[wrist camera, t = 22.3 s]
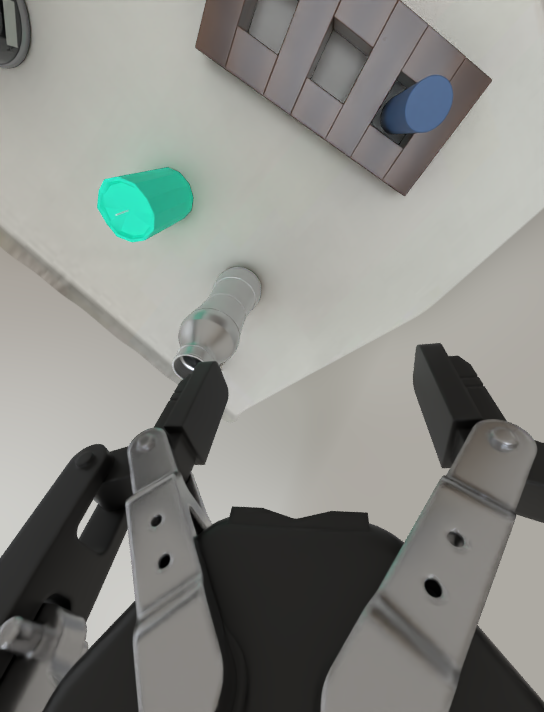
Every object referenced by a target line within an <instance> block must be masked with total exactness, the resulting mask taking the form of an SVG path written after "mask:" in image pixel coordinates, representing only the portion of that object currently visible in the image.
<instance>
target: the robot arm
mask: <svg viewBox="0 0 544 712" xmlns="http://www.w3.org/2000/svg"><path fill="white" fill-rule="evenodd" d="M29 43H30V26H29V19H28V14H27V10H26V6H25V3H24V0H0V67H2V68H12V67H15V66H17V65H19V64H20V63H21V62H22V61H23V60H24V58H25V57H26V54H27V52H28V48H29ZM413 385H414V390H415V394H416V396H417V399H418V402H419V405H420V408H421V411H422V413H423V416H424V419H425V422H426V425H427V427H428V430H429V433H430V436H431V439H432V442H433V444H434V447H435V450H436V453H437V455H438V458H439V461H440V464H441V467H442V468H450V470H449V471H448V473H447V475H446V476H442V478H441V479H440V481H439V482H438V484H437V486H436V487H435V489H434V491H433V493H432V495H431V496H430V498H429V500H428V502H427V503H426V505H425V507H424V509H423V510H422V512H421V514H420V516H419V518H418V519H417V521H416V523H415V525H414V526H413V528H412V530H411V532H410V533H409V535H408V537H407V539H406V541H405V542H403V541H401V540H400V539H398V538H397V537H396V536H394V535H393V534H391V533H390V532H388V531H386V530H384V529H382V528H380V527H378V526H375V525H372V524H369V521H368V513H362V512H340V511H330V512H326V513H321V514H317V515H312V516H308V517H303V518H298V519H294V518H290V517H287V516H284V515H282V514H279V513H276V512H273V511H270V510H267V509H264V508H251V507H232V509H231V513H230V517H228V518H225V519H223V520H220V521H218V522H216V523H214V524H212V523H211V521H210V519H209V517H208V515H207V512H206V510H205V507H204V504H203V501H202V499H201V496H200V493H199V490H198V487H197V484H196V482H195V479H194V476H193V474H192V472H191V471H192V468H193V465H204V464H205V462H206V460H207V457H208V454H209V451H210V448H211V445H212V443H213V440H214V437H215V434H216V431H217V429H218V426H219V423H220V420H221V418H222V415H223V412H224V409H225V406H226V404H227V401H228V387H227V384H226V382H225V379H224V377H223V374H222V372H221V369H220V367H219V364H218V363H217V362H216V361H207V362H199V363H197V365H196V367H195V368H194V370H193V372H192V374H188V375H187V376H186V377H185V378H184V379H183V380H182V381H181V382H180V383H179V384H178V386H177V388H176V390H175V393H173V395H172V397H171V398H170V401H169V402H168V404H167V405H166V407H165V409H164V411H163V412H162V414H161V416H160V418H159V419H158V421H157V423H156V424H155V426H154V428H150V429H147V430H145V431H143V432H141V433H140V434H138V435H137V436H136V437H135V438H134V439H133V440H132V442H131V443H130V445H129V446H128V447H125V448H121V449H118V450H114V451H111V452H109V451H108V450H107V448H105V446H104V445H101V444H95V445H91V446H89V447H86V448H85V449H83V450H81V451H80V452H79V453H78V454H76V455H75V456H74V457H73V458H72V459H71V460H70V462H69V463H68V465H67V466H66V467H65V469H64V470H63V472H62V473H61V474H60V476H59V477H58V478H57V480H56V481H55V483H54V484H53V485H52V487H51V488H50V490H49V491H48V493H47V494H46V495H45V497H44V498H43V499H42V501H41V502H40V504H39V505H38V506H37V508H36V509H35V511H34V512H33V514H32V515H31V516H30V518H29V519H28V520H27V522H26V523H25V525H24V526H23V527H22V529H21V530H20V531H19V533H18V534H17V536H16V537H15V539H14V540H13V541H12V543H11V544H10V546H9V547H8V548H7V550H6V551H5V552H4V554H3V555H2V557H1V558H0V712H544V702H543V700H541V698H540V697H539V696H538V695H537V693H536V692H535V691H534V690H533V689H532V688H531V687H530V685H529V684H528V683H527V682H526V681H525V680H524V678H523V677H522V676H521V675H520V674H519V673H518V672H517V670H516V669H515V668H514V667H513V666H512V665H511V663H510V662H509V661H508V660H507V659H506V658H505V657H504V656H503V654H502V653H501V652H500V651H499V650H498V648H497V647H496V646H495V645H494V644H493V643H492V642H491V640H490V639H489V638H488V637H487V636H486V635H485V633H484V632H483V631H482V630H481V629H480V628H479V626H478V625H477V624H478V621H479V619H480V616H481V613H482V610H483V607H484V605H485V602H486V599H487V597H488V594H489V591H490V588H491V585H492V583H493V580H494V577H495V574H496V572H497V569H498V566H499V563H500V560H501V558H502V555H503V552H504V549H505V547H506V543H507V541H508V538H509V535H510V532H511V530H512V527H513V524H514V521H515V518H516V514H517V515H520V516H523V517H526V518H530V519H533V520H536V521H539V522H543V523H544V443H541V442H538V441H535V440H534V439H533V438H532V437H531V436H530V434H528V433H527V432H526V431H525V430H523V429H522V428H520V427H519V426H517V425H514V424H512V423H509V422H507V421H506V419H505V418H504V416H503V415H502V413H501V411H500V410H499V408H498V407H497V405H496V404H495V402H494V401H493V399H492V397H491V396H490V394H489V393H488V391H487V389H486V388H485V387H484V386H483V383H482V382H481V380H480V378H479V377H477V374H476V372H475V371H474V369H473V368H472V366H471V364H469V363H468V362H466V361H465V360H463V359H462V358H461V357H459V356H448V355H447V353H446V352H445V349H444V348H443V346H442V344H440V343H435V344H422V345H417V347H416V353H415V363H414V372H413ZM93 500H95V501H96V502H97V503H98V505H97V507H96V509H95V511H94V513H93V514H92V516H91V518H90V520H89V522H88V523H87V525H86V527H85V529H84V531H83V532H82V534H81V536H80V538H79V539H78V537H77V528H78V525H79V523H80V521H81V520H82V518H83V516H84V514H85V513H86V511H87V509H88V507H89V506H90V504H91V502H92V501H93ZM127 529H128V534H129V544H130V554H131V564H132V573H133V583H134V592H135V601H134V602H133V603H132V604H131V606H130V607H129V608H128V609H127V610H126V611H125V612H124V613H123V614H122V615H121V616H120V617H119V618H118V619H117V620H116V621H115V622H114V624H112V626H110V628H108V630H107V631H106V632H105V633H104V634H103V635H102V636H101V637H100V638H99V639H98V640H97V641H96V642H95V643H94V644H93V645H92V646H91V647H90V649H88V643H87V642H86V641H85V639H86V632H87V629H86V628H87V626H86V621H87V619H88V617H89V614H90V612H91V610H92V608H93V605H94V603H95V601H96V599H97V597H98V594H99V592H100V590H101V588H102V585H103V583H104V581H105V579H106V576H107V574H108V572H109V569H110V567H111V565H112V563H113V560H114V558H115V556H116V554H117V551H118V549H119V547H120V545H121V543H122V540H123V538H124V536H125V534H126V531H127Z"/></svg>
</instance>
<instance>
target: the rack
mask: <svg viewBox="0 0 544 712" xmlns="http://www.w3.org/2000/svg"><path fill="white" fill-rule="evenodd" d="M257 1H258V0H206V4H205V8H204V12H203V16H202V21H201V25H200V29H199V33H198V37H197V41H196V45H195V48H196V49H198V50H199V51H201V52H202V53H203V54H205V55H206V56H208V57H209V58H210V59H212V60H213V61H215V62H216V63H217V64H219V65H220V66H222V67H223V68H225V69H226V70H227V71H229V72H230V73H231V74H233V75H234V76H236V77H237V78H239V79H240V80H241V81H243V82H244V83H246V84H247V85H248V86H250V87H251V88H253V89H254V90H255V91H257V92H258V93H260V94H261V95H263V96H264V97H265V98H267V99H268V100H270V101H271V102H272V103H274V104H275V105H277V106H278V107H279V108H281V109H282V110H284V111H285V112H286V113H288V114H289V115H291V116H292V117H293V118H295V119H296V120H298V121H299V122H300V123H302V124H303V125H305V126H306V127H308V128H309V129H310V130H312V131H313V132H315V133H316V134H317V135H319V136H320V137H322V138H323V139H325V140H326V141H327V142H329V143H330V144H331V145H333V146H334V147H336V148H337V149H338V150H340V151H341V152H343V153H344V154H346V155H347V156H348V157H350V158H351V159H353V160H354V161H355V162H357V163H358V164H360V165H361V166H362V167H364V168H365V169H367V170H368V171H369V172H371V173H372V174H374V175H375V176H377V177H378V178H379V179H381V180H382V181H384V182H385V183H386V184H388V185H389V186H391V187H392V188H393V189H395V190H396V191H398V192H399V193H400V194H402V195H403V196H406V194H407V193H408V192H409V190H410V189H411V188H412V186H413V185H414V184H415V182H416V181H417V180H418V178H419V177H420V176H421V174H422V173H423V172H424V170H425V169H426V168H427V166H428V165H429V164H430V162H431V161H432V160H433V158H434V157H435V156H436V154H437V153H438V152H439V150H440V149H441V148H442V146H443V145H444V144H445V142H446V141H447V140H448V138H449V137H450V136H451V135H452V133H453V132H454V131H455V129H456V128H457V127H458V125H459V124H460V123H461V121H462V120H463V119H464V117H465V116H466V115H467V113H468V112H469V111H470V109H471V108H472V107H473V105H474V104H475V103H476V101H477V100H478V99H479V97H480V96H481V95H482V93H483V92H484V91H485V89H486V88H487V87H488V85H489V84H490V83H491V81H492V79H491V78H490V77H489V76H487V75H486V74H485V73H484V72H483V71H482V70H480V69H479V68H478V67H477V66H476V65H475V64H473V63H472V62H471V61H470V60H469V59H468V58H466V56H464V55H463V54H462V53H461V52H460V51H459V50H457V49H456V48H455V47H454V46H453V45H452V44H450V43H449V42H448V41H447V40H446V39H445V38H444V37H442V36H441V35H440V34H439V33H438V32H437V31H435V30H434V29H433V28H432V27H431V26H430V25H428V24H427V23H426V22H425V21H424V20H423V19H422V18H420V17H419V16H418V15H417V14H416V13H415V12H413V11H412V10H411V9H410V8H409V7H408V6H406V5H405V4H404V3H403V2H402V1H401V0H298V1H299V2H298V4H297V7H296V10H295V12H294V15H293V18H292V20H291V23H290V26H289V28H288V31H287V34H286V36H285V39H284V42H283V44H282V47H281V49H280V52H279V55H277V54H276V53H274V52H273V51H272V50H270V49H269V48H268V47H266V46H265V45H264V44H262V43H261V42H260V41H258V40H257V39H256V38H254V37H253V36H252V35H250V34H249V33H248V30H249V27H250V23H251V20H252V17H253V14H254V11H255V8H256V5H257ZM333 29H334V30H335V31H336V32H338V33H339V34H340V35H341V36H343V37H344V38H345V39H347V40H348V41H349V42H350V43H352V44H353V45H354V46H355V47H357V48H358V49H359V50H360V51H362V52H363V53H364V54H365V55H367V56H368V59H367V61H366V63H365V65H364V67H363V69H362V70H361V72H360V74H359V76H358V78H357V80H356V82H355V84H354V86H353V88H352V90H351V91H350V93H349V95H348V97H347V99H346V101H345V103H344V105H343V103H341V102H340V101H339V100H337V99H336V98H335V97H333V96H332V95H331V94H329V93H328V92H327V91H325V90H324V89H323V88H321V87H320V86H319V85H317V84H316V83H315V82H313V81H312V80H311V77H312V75H313V73H314V70H315V68H316V66H317V64H318V61H319V59H320V57H321V55H322V52H323V50H324V48H325V46H326V44H327V41H328V39H329V37H330V35H331V32H332V30H333ZM431 75H441V76H444V77H445V78H447V79H448V80H449V82H450V83H451V86H452V89H453V101H452V105H451V108H450V111H449V113H448V115H447V116H446V118H445V119H444V120H443V122H442V123H441V124H440V125H439V126H437V127H436V128H435V129H433V130H431V131H429V132H425V133H407V134H406V135H405V137H404V138H403V140H402V141H401V143H400V144H399V145H398V144H396V143H395V142H394V141H392V140H391V139H390V138H388V137H387V136H386V135H384V134H383V133H382V132H380V131H379V130H378V129H376V128H375V127H374V126H372V125H371V124H370V123H371V121H372V120H373V118H374V116H375V115H376V113H377V111H378V109H379V108H380V106H381V104H382V103H383V101H384V99H385V98H386V96H387V94H388V93H389V91H390V89H391V87H392V86H393V84H394V82H395V81H396V79H397V80H398V81H399V82H400V83H402V84H403V85H404V86H405V87H407V88H409V87H411V86H413V85H414V84H416V83H418V82H419V81H421V80H422V79H424V78H426V77H428V76H431Z"/></svg>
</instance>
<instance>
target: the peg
mask: <svg viewBox="0 0 544 712" xmlns="http://www.w3.org/2000/svg"><path fill="white" fill-rule="evenodd" d="M452 101H453V89H452V86H451V83H450V82H449V80H448V79H447V78H445V77H444V76H441V75H431V76H428V77H426V78H424V79H422V80H421V81H419V82H418V83H416V84H414V85H413V86H411V87H409V88H408V89H406V90H404V91H403V92H401V93H400V94H398V95H396V96H395V97H393V98H391V99H390V100H389V101H388V102H387V103H386V105H385V106H384V108H383V110H382V113H381V125H382V128H383V129H384V131H386V132H387V133H389V134H406V133H425V132H429V131H431V130H433V129H435V128H436V127H437V126H439V125H440V124H441V123H442V122H443V120H444V119H445V118H446V116H447V115H448V113H449V111H450V108H451V105H452Z"/></svg>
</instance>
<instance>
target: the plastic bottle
mask: <svg viewBox="0 0 544 712" xmlns="http://www.w3.org/2000/svg"><path fill="white" fill-rule="evenodd" d="M260 297H261V284H260V281H259V279H258V277H257V276H256V275H255V274H254V273H253V272H252V271H250V270H248V269H246V268H243V267H233V268H229V269H228V270H226V271H224V272H223V273H221V274H220V275H219V276H218V278H217V280H216V282H215V284H214V287H213V290H212V292H211V294H210V295H209V297H208V298H207V299H206V301H205V302H204V303H203V304H202V305H201V306H200V307H198V308H197V309H196V310H195V311H193V312H192V313H191V314H190V315H188V316H187V317H186V318H185V319H184V321H183V322H182V323H181V326H180V330H179V336H178V338H179V343H180V348H179V350H178V352H177V355H176V356H175V358H174V359H173V362H172V367H173V370H174V372H175V373H176V375H177V376H178V377H180V378H181V379H184V378H185V377H186V376H187V375H188V374H192V372H193V370H194V368H195V367H196V365H197V363H199V362H207V361H216V362H217V363H218V364H220V363H223V362H225V361H226V360H228V359H229V358H230V357H231V356H232V355H233V354H234V353H235V352H236V350H237V347H238V344H239V340H240V335H241V330H242V327H243V324H244V321H245V319H246V317H247V316H248V314H249V313H250V311H252V310H253V308H254V307H255V306H256V305H257V304H258V302H259V300H260Z"/></svg>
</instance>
